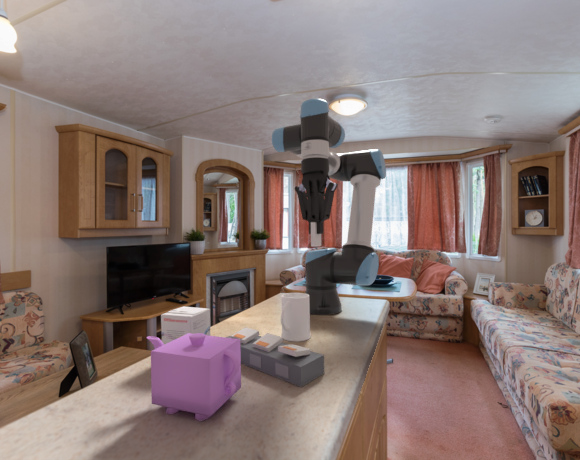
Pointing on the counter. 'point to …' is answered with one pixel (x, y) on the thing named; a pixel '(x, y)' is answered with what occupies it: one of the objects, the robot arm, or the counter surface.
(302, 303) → the mug
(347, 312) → the counter surface
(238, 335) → the rocker
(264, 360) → the power strip
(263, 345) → the rocker
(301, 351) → the rocker
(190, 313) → the ink box
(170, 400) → the teapot
